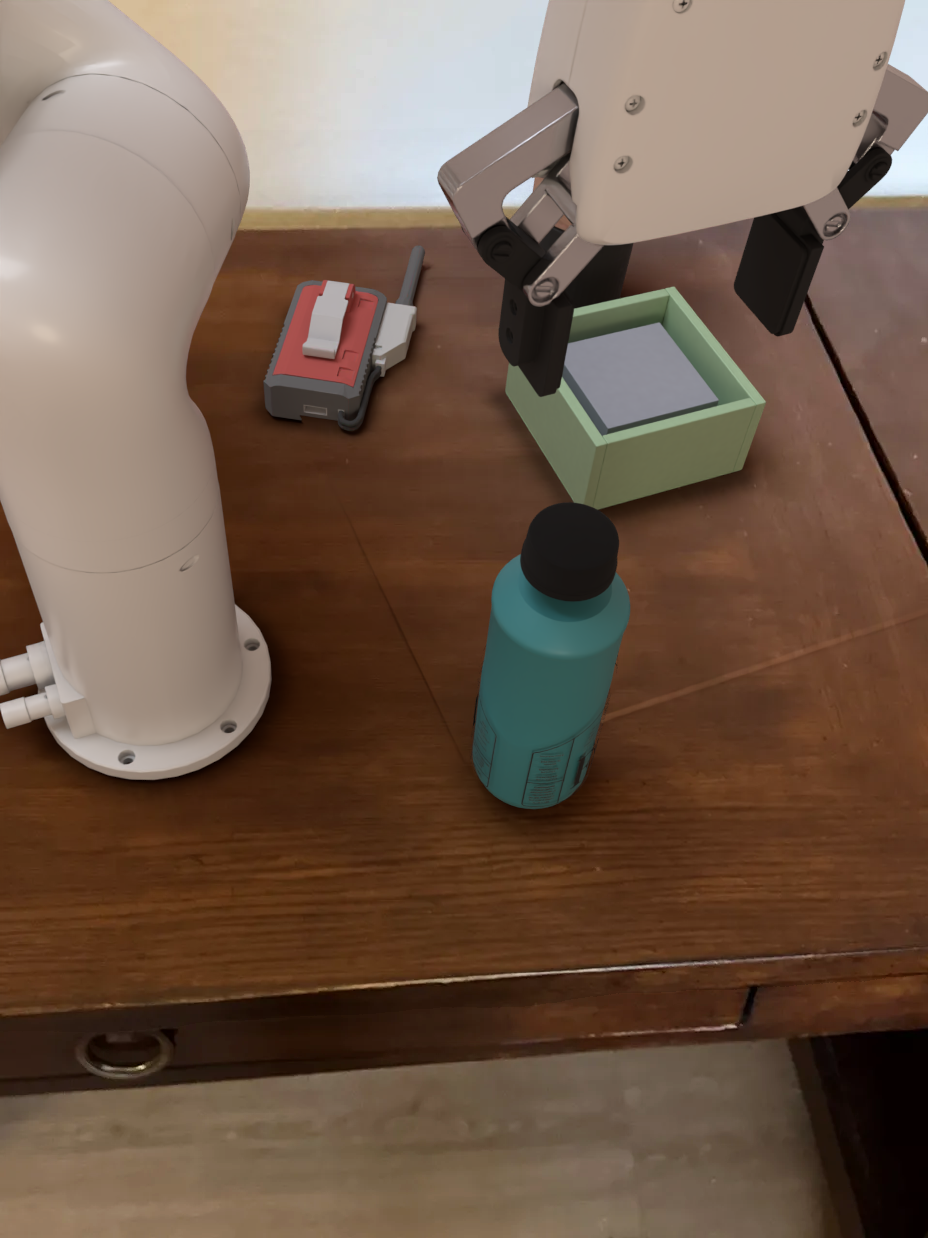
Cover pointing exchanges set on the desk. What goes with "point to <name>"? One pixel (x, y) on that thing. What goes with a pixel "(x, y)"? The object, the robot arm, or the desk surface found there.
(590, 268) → the travel mug
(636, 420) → the block
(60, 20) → the robot arm
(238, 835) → the desk surface
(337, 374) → the walkie-talkie
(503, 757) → the beverage bottle
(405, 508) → the desk surface
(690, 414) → the crate
